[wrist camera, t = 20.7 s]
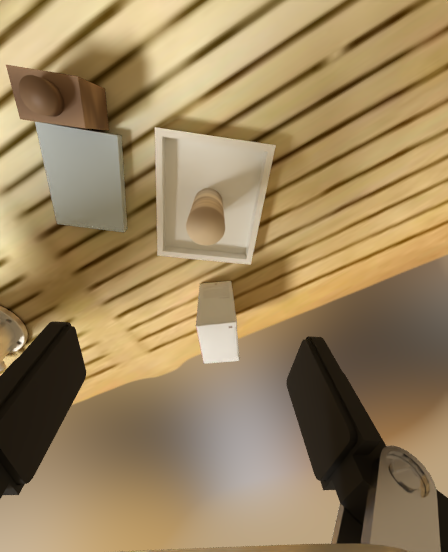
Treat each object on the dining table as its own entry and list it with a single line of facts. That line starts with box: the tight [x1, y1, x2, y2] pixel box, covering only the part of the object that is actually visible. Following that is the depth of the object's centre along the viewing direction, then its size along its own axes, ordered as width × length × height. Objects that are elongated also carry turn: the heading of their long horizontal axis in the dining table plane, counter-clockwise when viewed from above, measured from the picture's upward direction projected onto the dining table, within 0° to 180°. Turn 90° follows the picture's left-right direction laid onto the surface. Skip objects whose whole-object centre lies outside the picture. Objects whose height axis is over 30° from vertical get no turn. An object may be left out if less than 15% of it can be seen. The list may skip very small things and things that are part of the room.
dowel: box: [186, 188, 225, 246], centre depth 28 cm, size 4×4×10 cm
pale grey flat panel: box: [35, 122, 127, 232], centre depth 31 cm, size 12×9×2 cm
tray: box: [155, 127, 276, 265], centre depth 32 cm, size 16×14×2 cm
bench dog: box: [6, 65, 109, 130], centre depth 24 cm, size 4×6×8 cm, turn 83°
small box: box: [196, 281, 240, 363], centre depth 37 cm, size 8×6×10 cm
